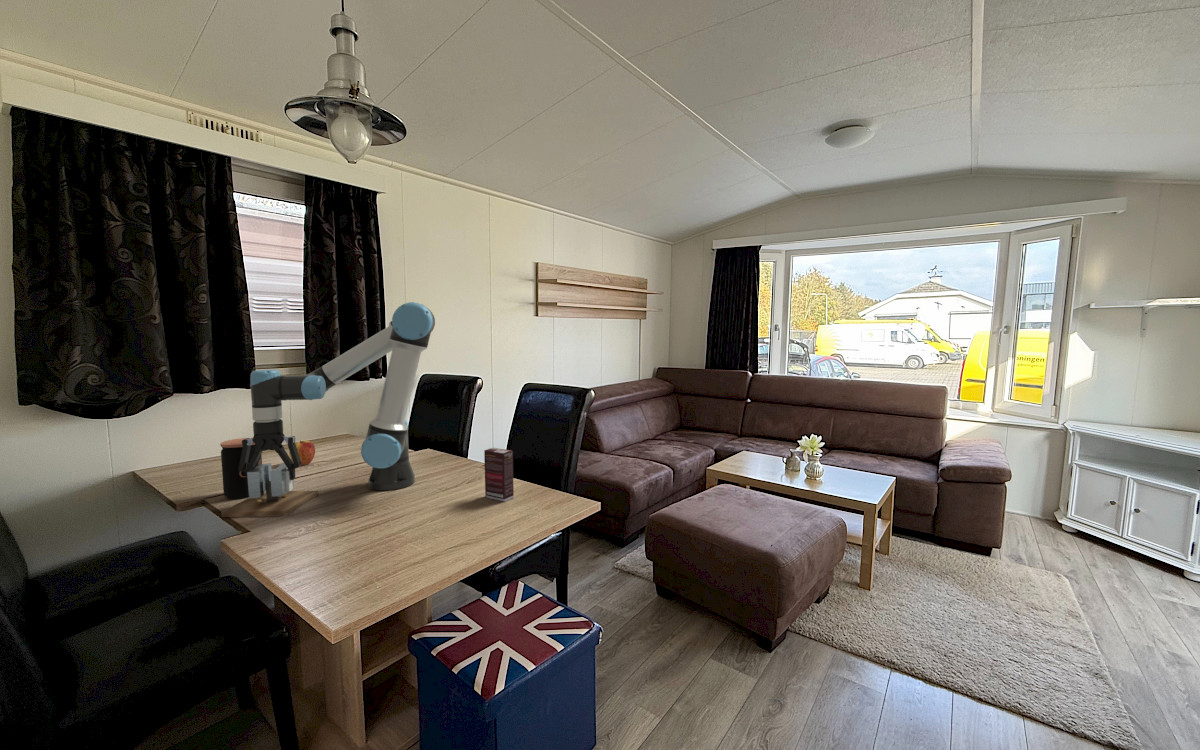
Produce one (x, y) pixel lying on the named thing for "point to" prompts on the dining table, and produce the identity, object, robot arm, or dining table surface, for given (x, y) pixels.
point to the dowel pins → (260, 500)
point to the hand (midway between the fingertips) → (272, 491)
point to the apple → (305, 451)
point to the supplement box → (499, 474)
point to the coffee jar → (235, 468)
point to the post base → (270, 504)
